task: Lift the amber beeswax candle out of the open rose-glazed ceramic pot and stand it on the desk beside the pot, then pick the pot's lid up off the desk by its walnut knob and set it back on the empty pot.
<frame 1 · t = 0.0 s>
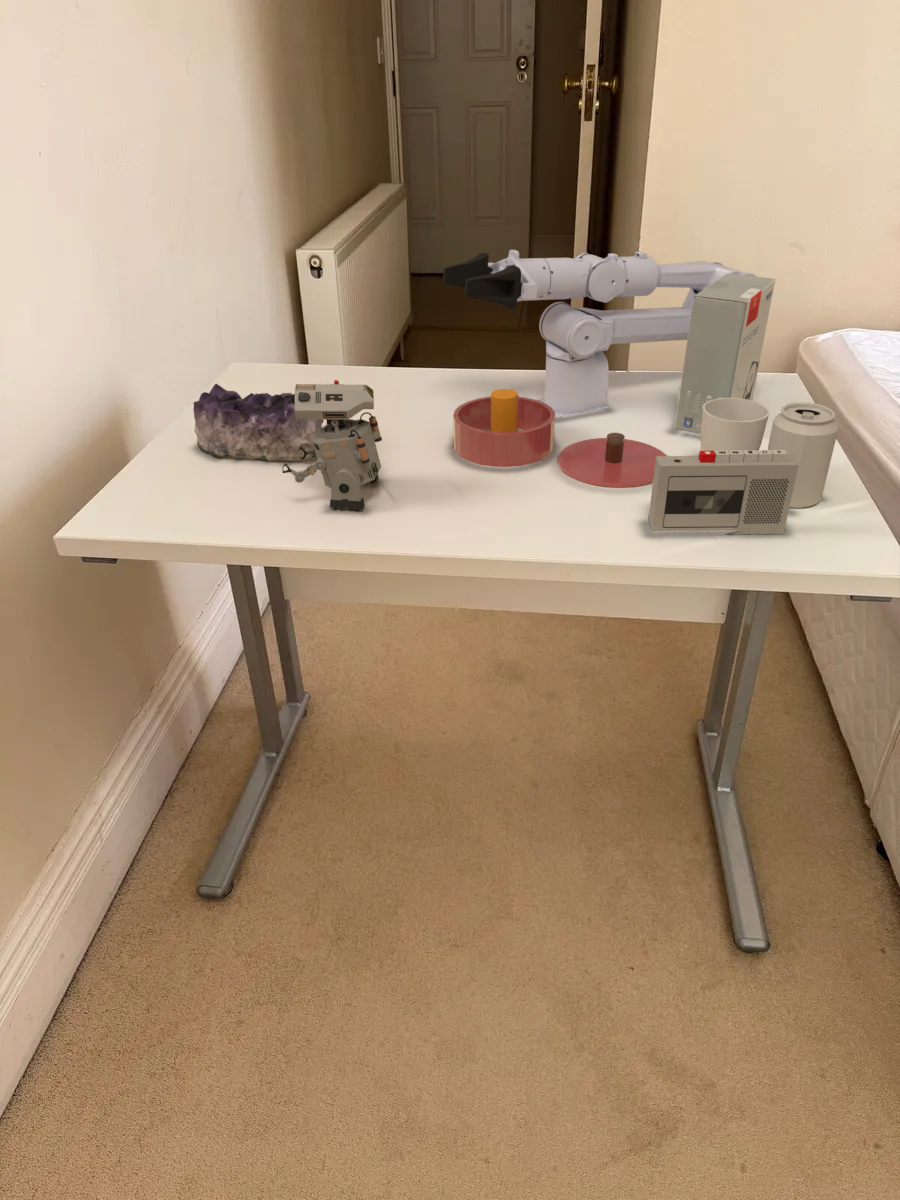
hand: (454, 281, 120), 22 cm above the table, tool horizontal, fingers open, 7 cm apart
hard drive box: (713, 420, 133), on the table
figurine: (340, 496, 114), on the table
cup: (723, 482, 115), on the table
candle: (503, 446, 125), resting on pot
cassette player: (714, 530, 104), on the table
lid: (613, 463, 119), point 1 cm above the table
can: (788, 500, 110), on the table
geode: (263, 451, 127), on the table
pot: (503, 449, 125), on the table
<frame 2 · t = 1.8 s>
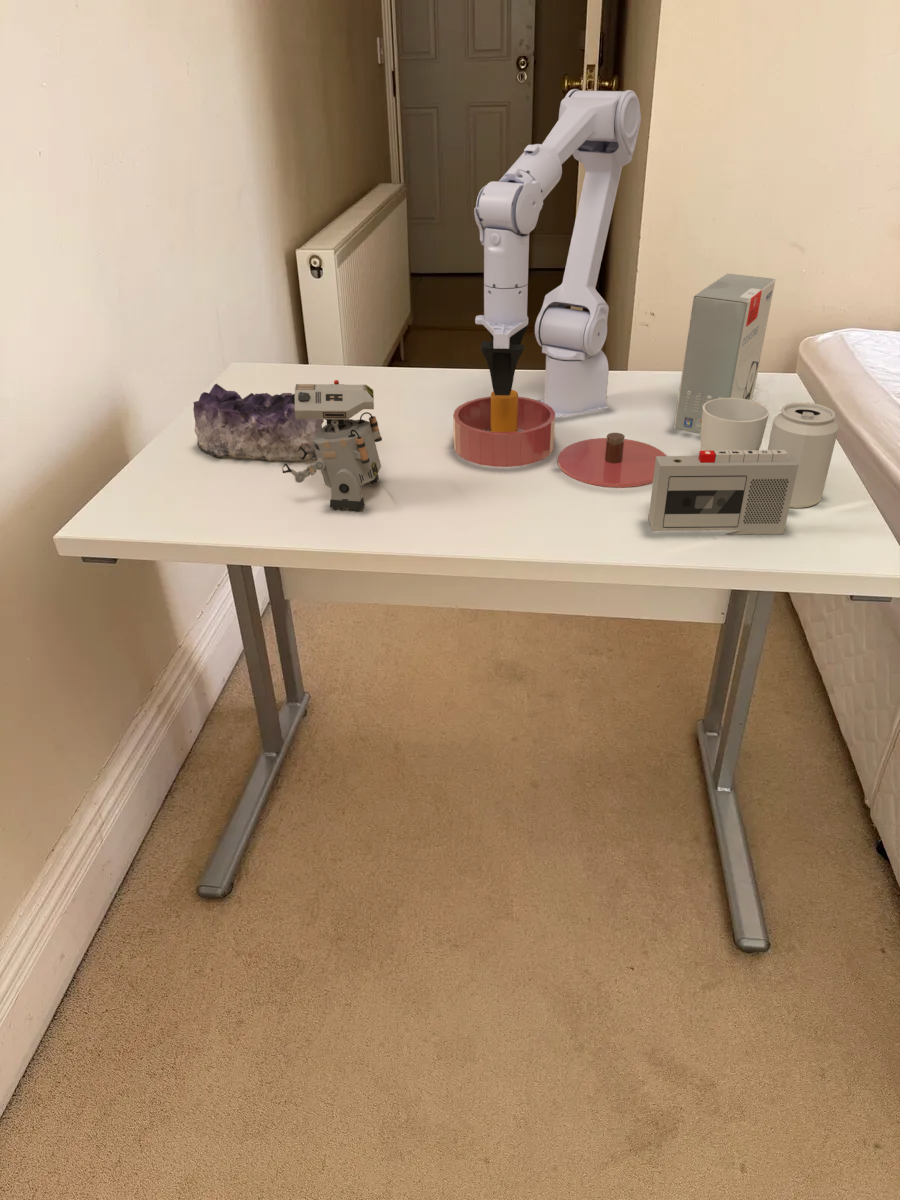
hand: (504, 384, 120), 10 cm above the table, tool pointing down, fingers open, 7 cm apart
nothing on the table moved.
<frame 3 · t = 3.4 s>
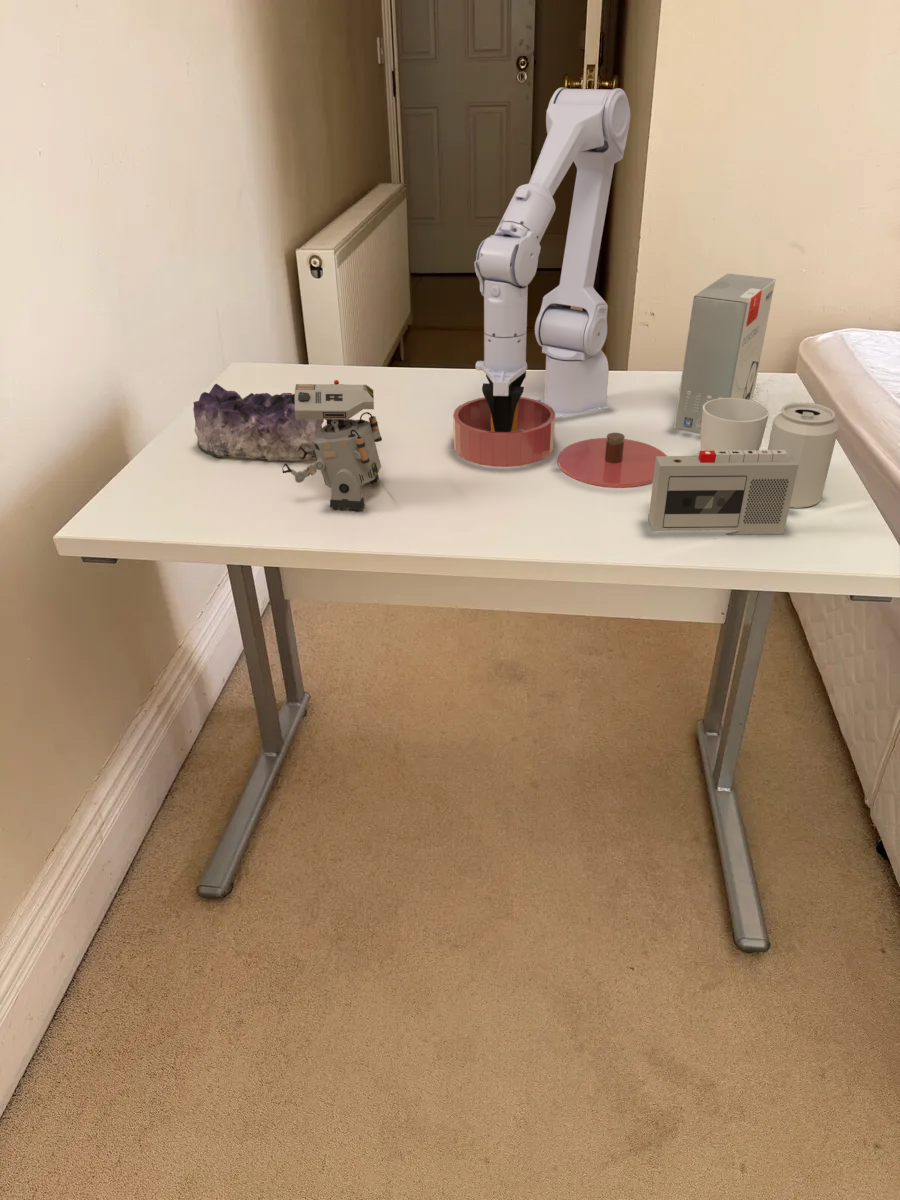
hand: (504, 427, 123), 3 cm above the table, tool pointing down, fingers closed on candle, 4 cm apart
candle: (503, 446, 125), resting on pot, touching gripper
everything else where it was.
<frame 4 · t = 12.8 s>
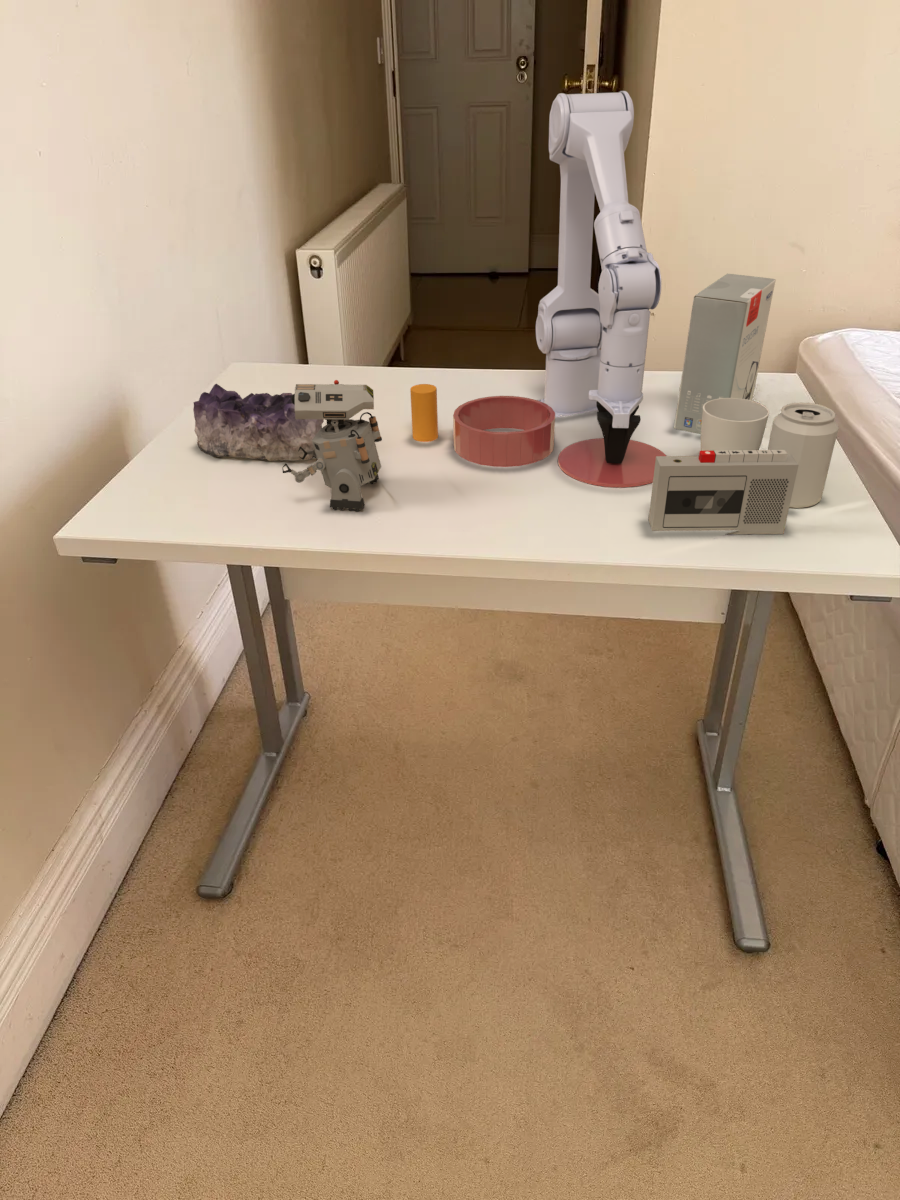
hand: (613, 457, 118), 1 cm above the table, tool pointing down, fingers closed on lid, 2 cm apart
candle: (425, 440, 128), on the table
lid: (613, 463, 119), point 1 cm above the table, touching gripper
everything else where it was.
when the fingers open (6 cm above the table, at t = 18.3 s): lid stays where it is, resting on pot.
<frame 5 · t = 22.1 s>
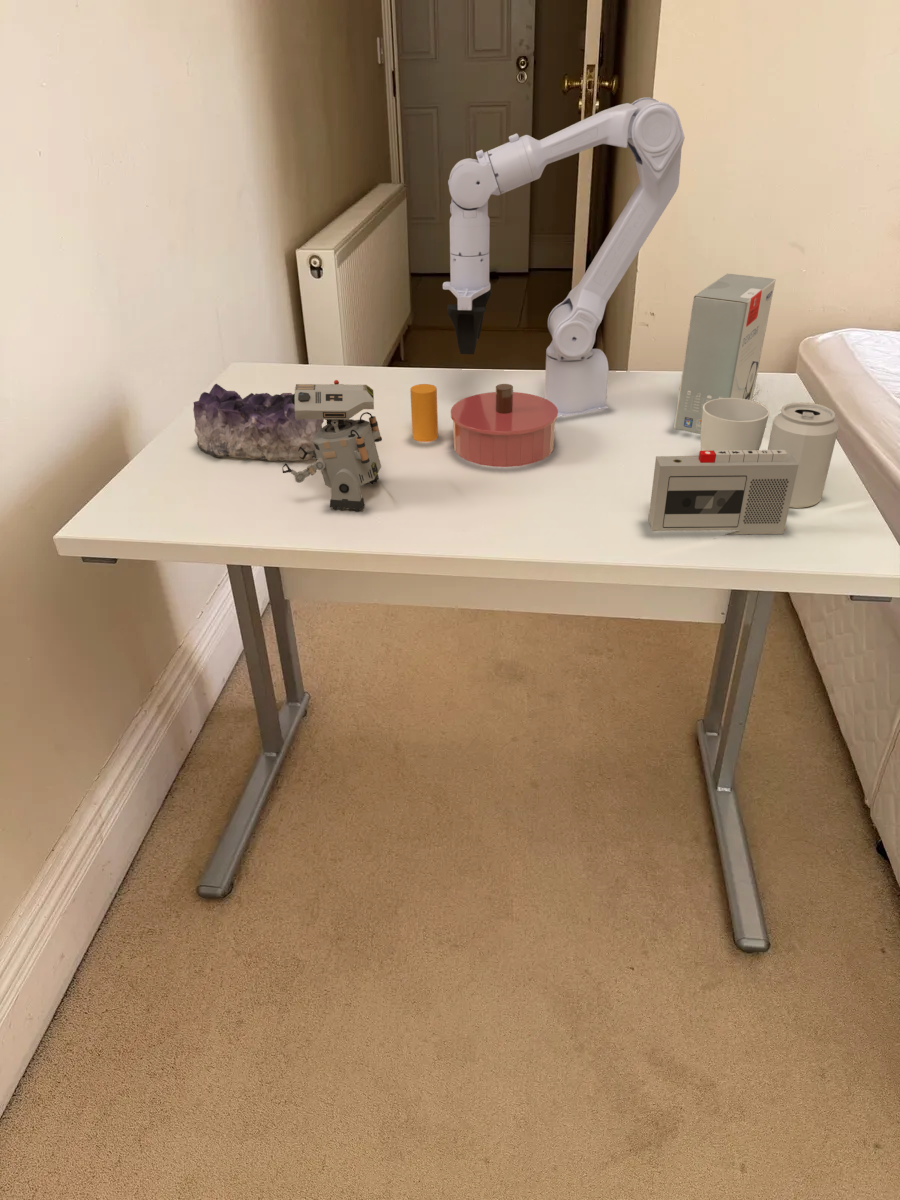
hand: (470, 345, 132), 10 cm above the table, tool pointing down, fingers open, 7 cm apart
lid: (504, 413, 122), point 5 cm above the table, touching pot
everything else where it was.
at the end: candle 0.1 cm from the target spot, on the table; lid 0.0 cm off-centre on the pot, point 5.4 cm above the pot's base; lid tilted 0° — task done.
